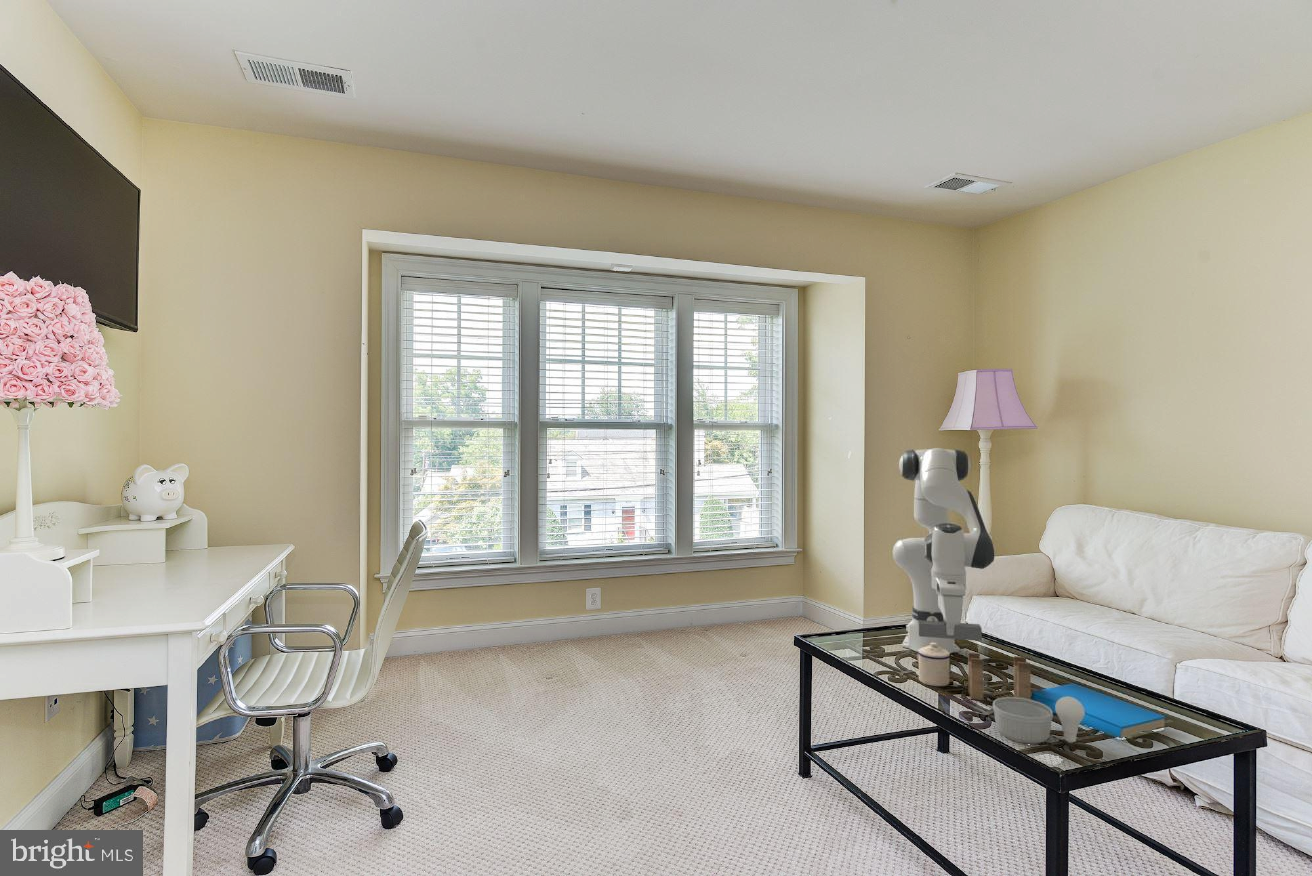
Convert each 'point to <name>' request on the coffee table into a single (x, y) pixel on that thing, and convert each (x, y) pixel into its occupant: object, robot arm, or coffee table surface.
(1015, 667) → the post
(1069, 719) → the lightbulb
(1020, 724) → the ramekin
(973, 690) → the post
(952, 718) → the coffee table surface
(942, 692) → the coffee table surface
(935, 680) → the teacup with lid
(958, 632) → the rail
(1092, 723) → the book
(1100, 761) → the coffee table surface
